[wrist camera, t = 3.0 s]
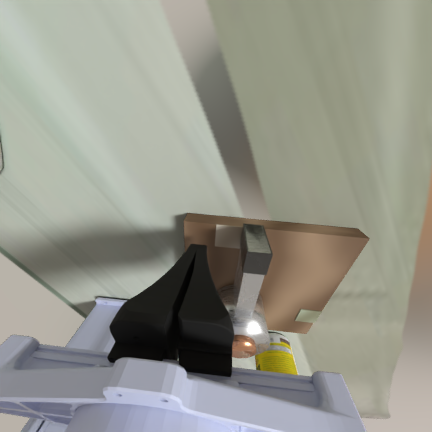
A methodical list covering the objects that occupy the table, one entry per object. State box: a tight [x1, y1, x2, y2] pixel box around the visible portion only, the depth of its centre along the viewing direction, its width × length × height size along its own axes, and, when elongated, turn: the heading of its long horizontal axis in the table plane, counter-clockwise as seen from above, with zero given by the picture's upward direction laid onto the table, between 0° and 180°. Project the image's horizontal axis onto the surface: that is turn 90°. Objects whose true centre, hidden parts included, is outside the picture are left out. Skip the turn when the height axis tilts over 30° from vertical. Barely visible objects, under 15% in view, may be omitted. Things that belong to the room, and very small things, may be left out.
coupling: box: [218, 223, 273, 358], centre depth 15 cm, size 13×6×5 cm, turn 176°
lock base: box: [184, 213, 370, 334], centre depth 19 cm, size 16×16×2 cm
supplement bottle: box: [255, 333, 299, 375], centre depth 22 cm, size 6×6×10 cm
